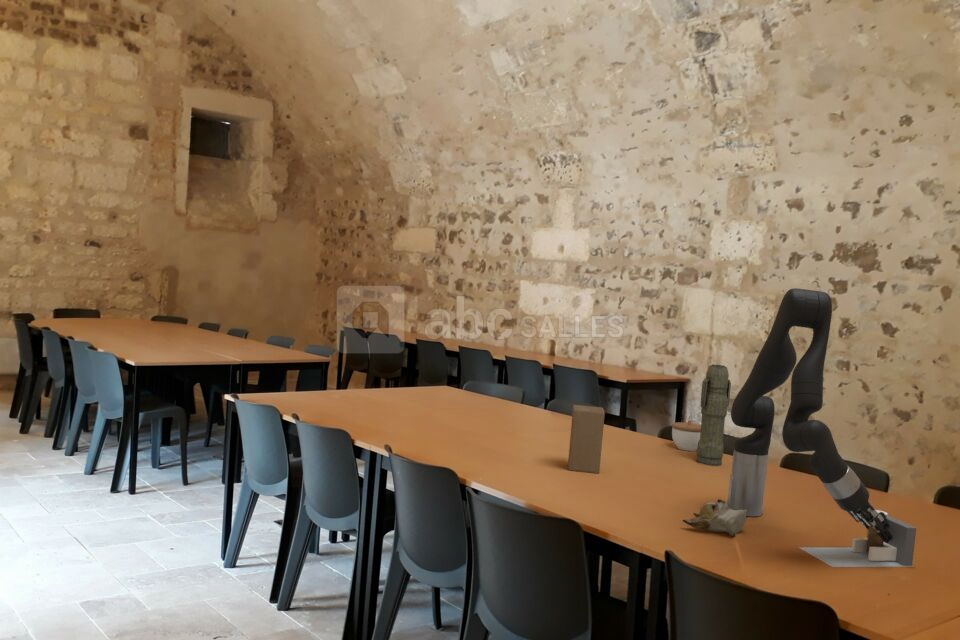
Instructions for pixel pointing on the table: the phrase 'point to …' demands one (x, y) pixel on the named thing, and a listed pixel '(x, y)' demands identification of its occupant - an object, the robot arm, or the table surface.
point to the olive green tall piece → (713, 415)
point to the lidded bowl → (686, 435)
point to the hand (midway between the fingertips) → (882, 537)
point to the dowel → (873, 539)
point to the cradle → (875, 550)
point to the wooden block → (586, 439)
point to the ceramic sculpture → (718, 518)
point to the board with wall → (847, 558)
